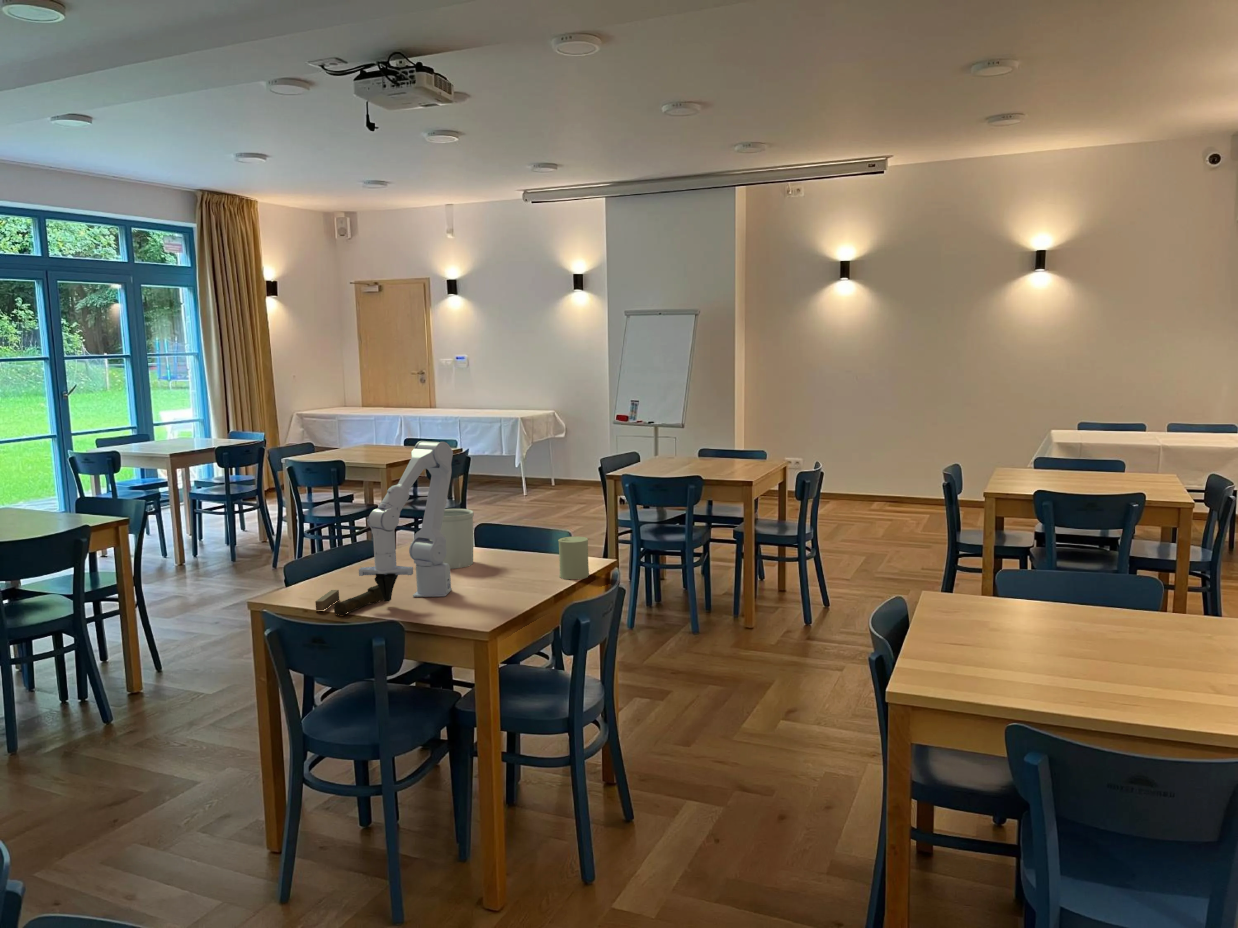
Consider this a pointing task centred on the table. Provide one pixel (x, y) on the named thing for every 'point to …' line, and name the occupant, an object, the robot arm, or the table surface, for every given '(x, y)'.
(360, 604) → the hand tool
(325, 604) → the block
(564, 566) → the can
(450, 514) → the utensil holder
